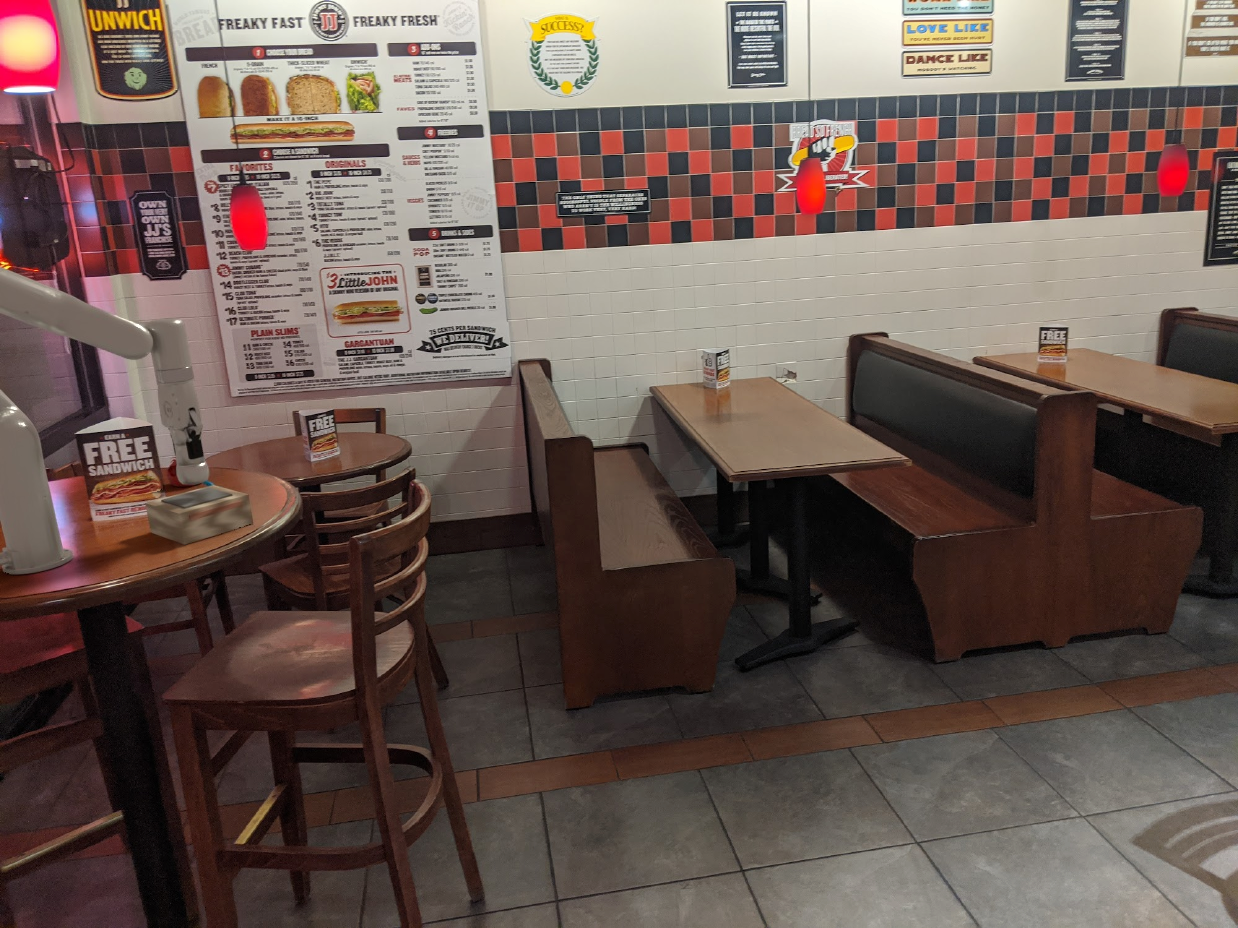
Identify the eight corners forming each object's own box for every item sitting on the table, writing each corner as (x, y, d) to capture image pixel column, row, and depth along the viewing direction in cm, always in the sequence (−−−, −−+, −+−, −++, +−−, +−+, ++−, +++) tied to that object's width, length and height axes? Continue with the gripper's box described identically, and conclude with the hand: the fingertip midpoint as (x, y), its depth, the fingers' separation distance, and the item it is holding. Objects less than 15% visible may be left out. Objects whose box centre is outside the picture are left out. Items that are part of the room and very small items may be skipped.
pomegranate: (204, 477, 255) (199, 445, 253) (210, 484, 247) (205, 450, 245) (165, 483, 250) (160, 450, 248) (170, 490, 242) (165, 456, 240)
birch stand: (185, 544, 198) (179, 512, 196) (150, 532, 208) (144, 501, 206) (254, 524, 209) (249, 492, 208) (218, 513, 220) (213, 483, 218)
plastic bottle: (203, 487, 203) (187, 398, 198) (173, 488, 203) (156, 399, 198) (216, 479, 209) (201, 392, 204) (186, 480, 209) (171, 394, 204)
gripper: (139, 376, 202) (154, 456, 207) (176, 381, 192) (191, 465, 196) (173, 371, 208) (187, 448, 213) (211, 375, 197) (225, 457, 202)
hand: (189, 455), depth 204 cm, fingers closed on plastic bottle, 5 cm apart
